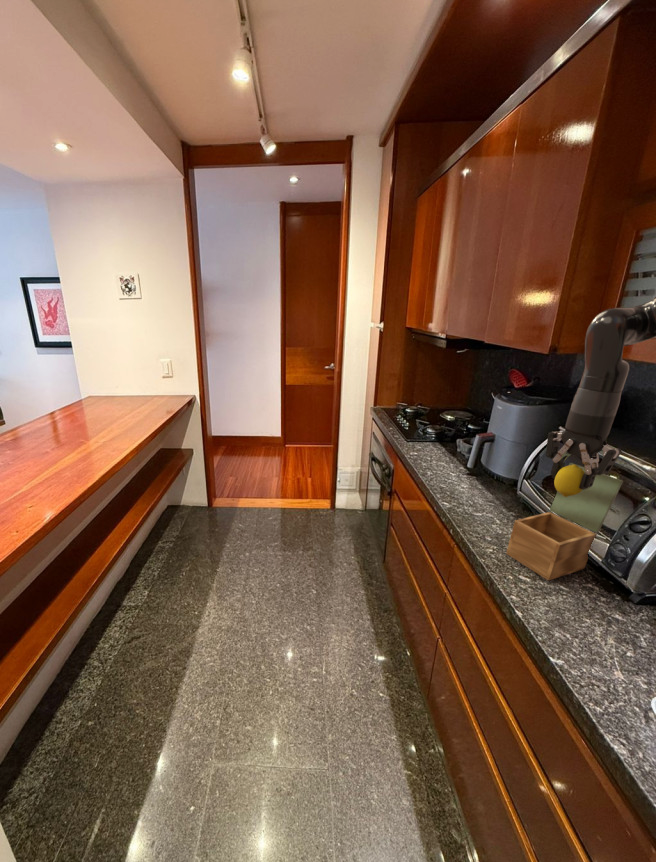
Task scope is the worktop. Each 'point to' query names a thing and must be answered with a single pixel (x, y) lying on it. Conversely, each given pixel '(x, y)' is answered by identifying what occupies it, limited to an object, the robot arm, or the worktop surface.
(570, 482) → the lemon
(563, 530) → the box
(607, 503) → the caddy lid
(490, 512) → the worktop surface
